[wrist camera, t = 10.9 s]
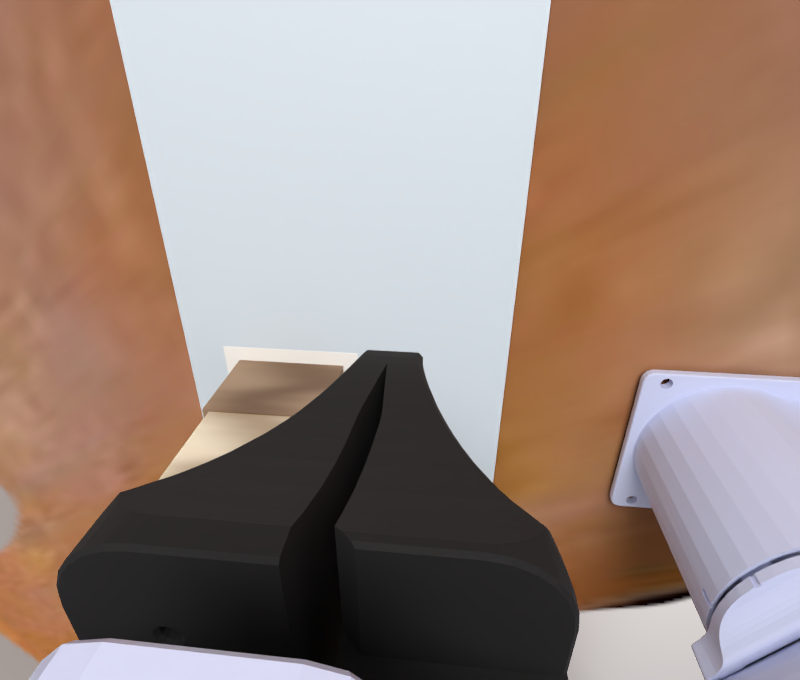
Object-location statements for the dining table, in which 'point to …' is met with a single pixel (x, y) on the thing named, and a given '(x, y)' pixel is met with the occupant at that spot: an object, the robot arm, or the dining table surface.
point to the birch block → (220, 438)
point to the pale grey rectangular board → (343, 182)
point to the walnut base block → (271, 387)
